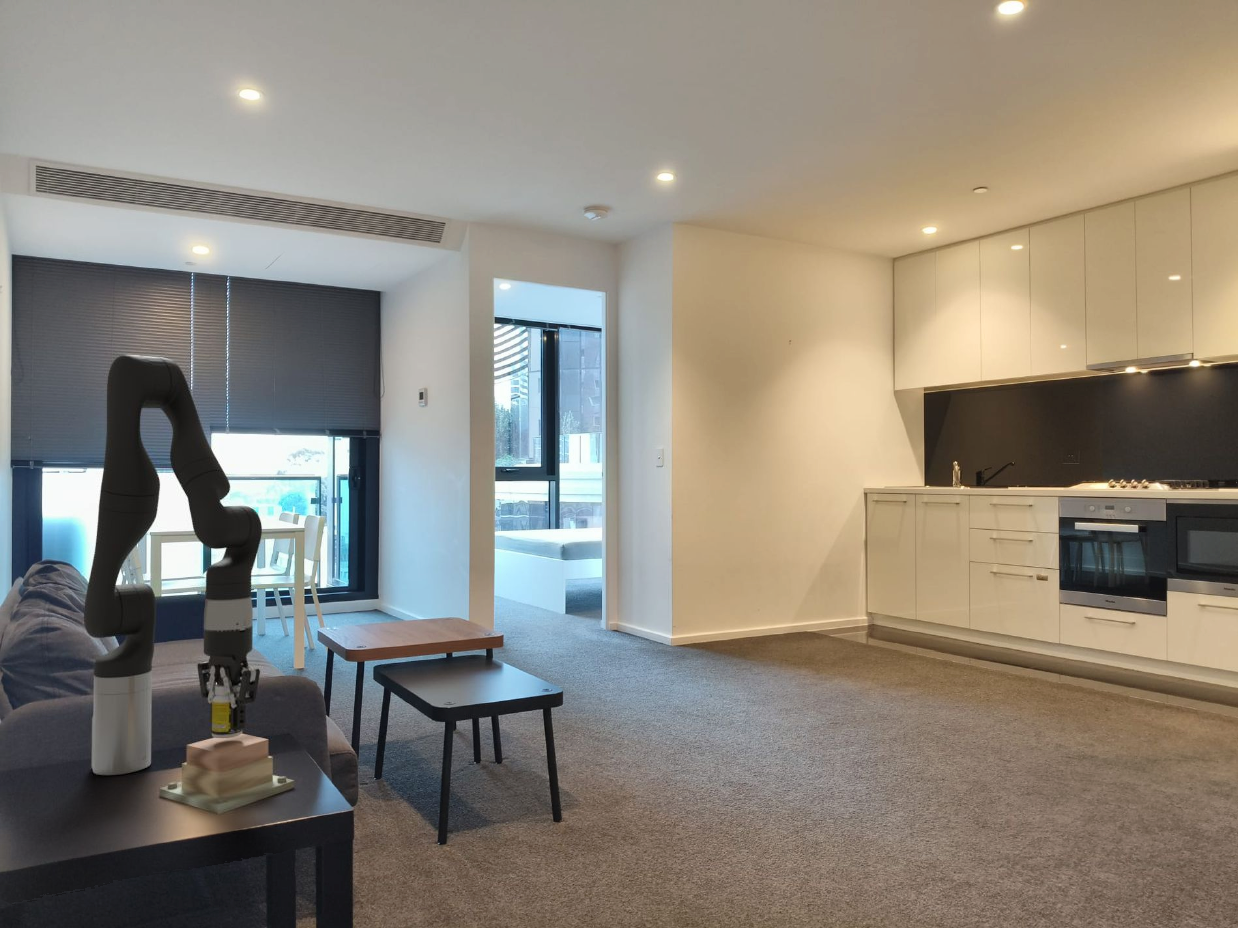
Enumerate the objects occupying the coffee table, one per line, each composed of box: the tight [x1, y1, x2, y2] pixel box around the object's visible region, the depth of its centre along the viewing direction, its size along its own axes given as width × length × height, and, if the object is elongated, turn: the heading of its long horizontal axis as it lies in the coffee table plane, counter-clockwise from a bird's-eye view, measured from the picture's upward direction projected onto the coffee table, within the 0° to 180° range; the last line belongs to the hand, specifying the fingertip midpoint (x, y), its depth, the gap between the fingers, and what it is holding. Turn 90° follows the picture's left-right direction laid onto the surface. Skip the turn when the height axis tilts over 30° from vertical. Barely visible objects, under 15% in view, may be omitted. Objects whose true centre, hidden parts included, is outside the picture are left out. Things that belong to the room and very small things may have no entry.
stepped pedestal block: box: [158, 733, 295, 815], centre depth 147 cm, size 16×14×8 cm
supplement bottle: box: [211, 684, 244, 738], centre depth 147 cm, size 5×5×8 cm
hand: (227, 726), depth 147 cm, fingers closed on supplement bottle, 4 cm apart
